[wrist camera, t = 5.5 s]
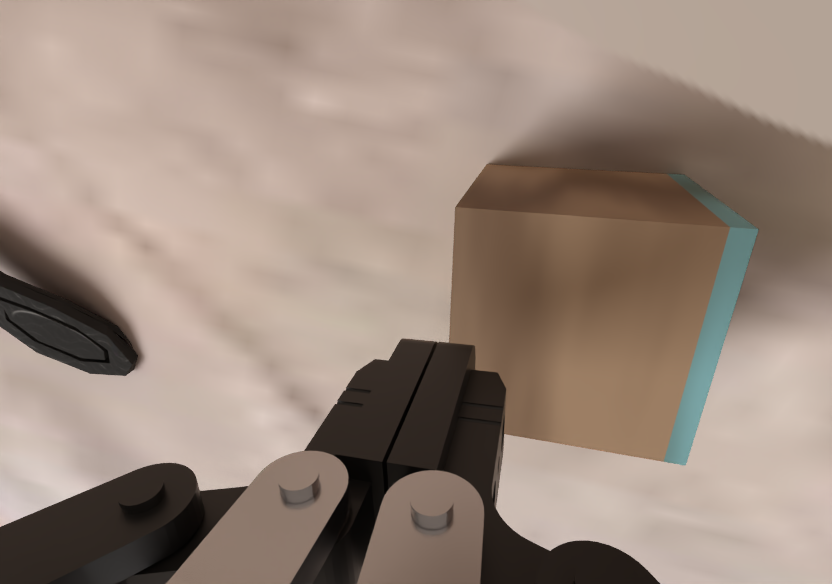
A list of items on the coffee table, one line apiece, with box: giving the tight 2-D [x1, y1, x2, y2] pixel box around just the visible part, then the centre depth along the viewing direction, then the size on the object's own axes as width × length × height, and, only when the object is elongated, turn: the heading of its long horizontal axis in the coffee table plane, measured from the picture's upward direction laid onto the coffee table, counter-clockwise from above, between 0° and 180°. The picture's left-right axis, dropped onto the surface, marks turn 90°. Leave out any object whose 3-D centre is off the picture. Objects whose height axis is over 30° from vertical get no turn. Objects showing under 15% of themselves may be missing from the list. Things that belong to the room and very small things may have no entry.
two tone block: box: [449, 164, 759, 465], centre depth 14 cm, size 6×6×6 cm
